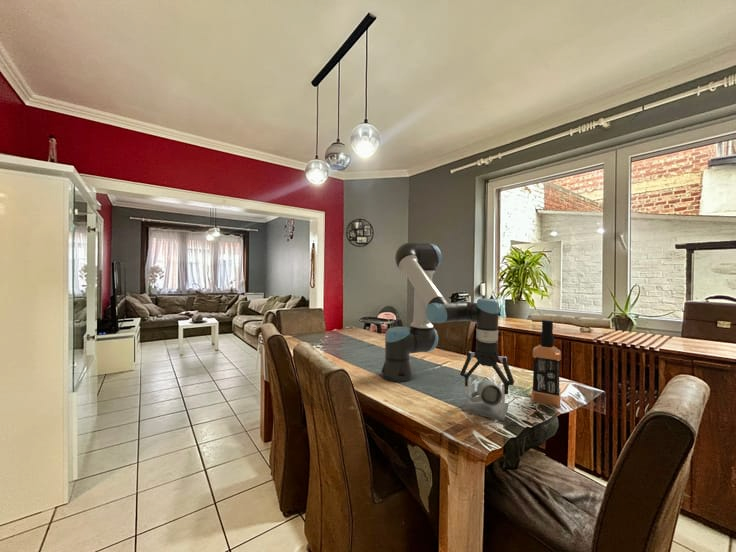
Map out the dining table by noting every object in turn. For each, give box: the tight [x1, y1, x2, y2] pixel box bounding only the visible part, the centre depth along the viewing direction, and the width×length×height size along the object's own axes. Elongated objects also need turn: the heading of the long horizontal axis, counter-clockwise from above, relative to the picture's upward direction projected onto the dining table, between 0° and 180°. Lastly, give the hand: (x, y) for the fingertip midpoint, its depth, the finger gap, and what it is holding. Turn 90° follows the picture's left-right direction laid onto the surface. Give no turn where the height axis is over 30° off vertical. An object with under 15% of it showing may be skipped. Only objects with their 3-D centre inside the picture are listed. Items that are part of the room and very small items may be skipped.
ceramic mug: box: [468, 379, 502, 406], centre depth 114 cm, size 11×8×8 cm
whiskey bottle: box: [530, 319, 562, 408], centre depth 121 cm, size 10×10×32 cm
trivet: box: [461, 396, 510, 422], centre depth 114 cm, size 14×14×1 cm
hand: (485, 398), depth 114 cm, fingers closed on ceramic mug, 11 cm apart
